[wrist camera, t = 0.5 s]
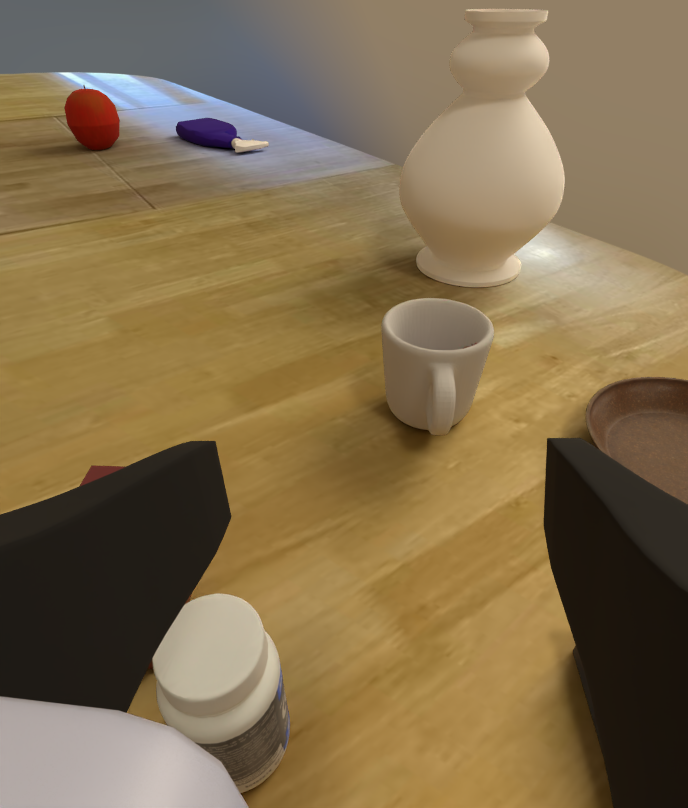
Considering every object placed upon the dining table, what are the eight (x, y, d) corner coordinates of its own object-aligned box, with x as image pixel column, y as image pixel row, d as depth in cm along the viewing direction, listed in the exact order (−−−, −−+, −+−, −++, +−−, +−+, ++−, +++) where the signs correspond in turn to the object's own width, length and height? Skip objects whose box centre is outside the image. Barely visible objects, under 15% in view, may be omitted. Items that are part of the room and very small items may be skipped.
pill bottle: (311, 739, 24) (301, 648, 19) (220, 825, 21) (179, 748, 16) (253, 660, 27) (231, 562, 21) (167, 727, 24) (118, 635, 19)
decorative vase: (376, 244, 69) (385, 8, 54) (498, 232, 73) (540, 6, 57) (426, 307, 56) (457, 15, 40) (573, 287, 59) (654, 13, 44)
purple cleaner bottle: (170, 122, 117) (228, 144, 103) (213, 116, 123) (274, 135, 109) (172, 137, 119) (230, 160, 105) (215, 130, 125) (275, 151, 111)
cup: (492, 471, 37) (515, 379, 32) (379, 469, 37) (384, 377, 32) (468, 381, 45) (483, 297, 40) (376, 379, 46) (380, 296, 41)
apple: (134, 146, 112) (120, 84, 105) (90, 155, 106) (72, 90, 99) (109, 139, 117) (94, 79, 110) (65, 148, 111) (46, 85, 104)
